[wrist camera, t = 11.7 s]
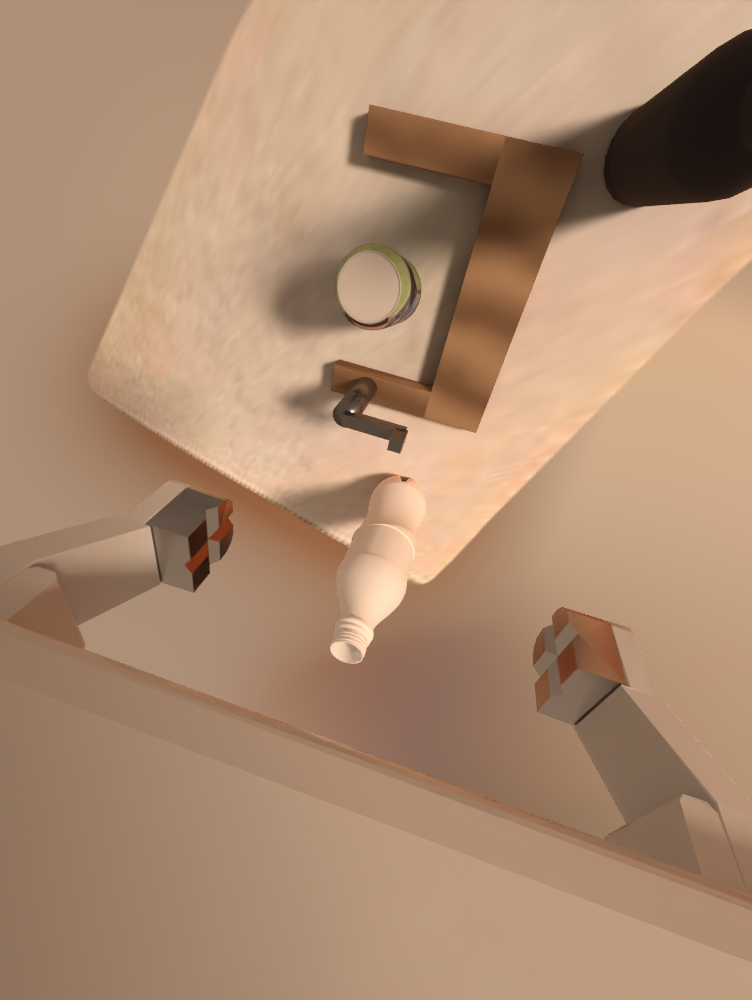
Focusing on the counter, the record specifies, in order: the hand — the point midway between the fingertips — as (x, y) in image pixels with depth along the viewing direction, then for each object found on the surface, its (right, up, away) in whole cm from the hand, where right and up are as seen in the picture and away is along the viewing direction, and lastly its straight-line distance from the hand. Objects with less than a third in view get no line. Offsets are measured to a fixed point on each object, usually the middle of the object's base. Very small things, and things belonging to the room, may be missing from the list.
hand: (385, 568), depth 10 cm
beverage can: (+2, +23, +31) cm, 39 cm away
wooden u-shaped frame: (+6, +22, +30) cm, 38 cm away
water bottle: (+3, +3, +45) cm, 45 cm away
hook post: (+2, +14, +37) cm, 40 cm away
